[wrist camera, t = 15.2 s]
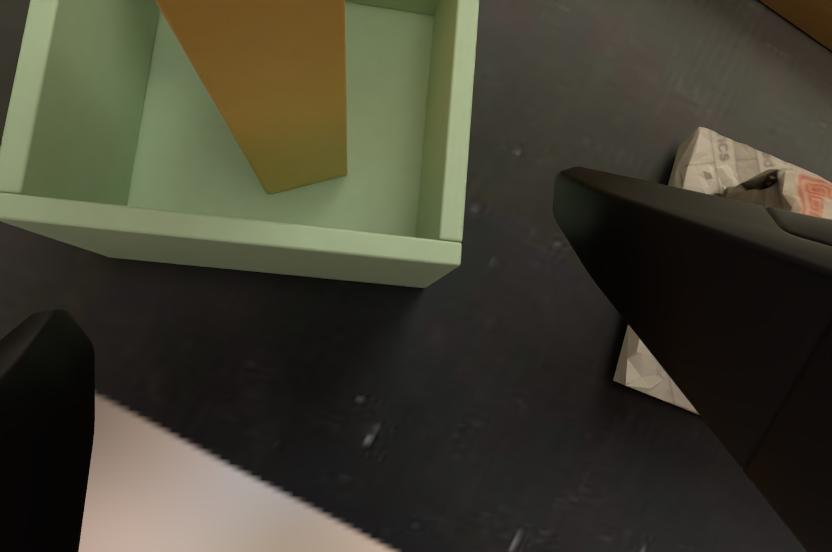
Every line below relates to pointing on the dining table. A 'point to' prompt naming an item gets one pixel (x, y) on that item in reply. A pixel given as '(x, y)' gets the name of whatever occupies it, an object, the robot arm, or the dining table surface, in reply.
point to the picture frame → (807, 17)
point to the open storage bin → (222, 156)
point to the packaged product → (735, 179)
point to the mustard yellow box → (273, 80)
